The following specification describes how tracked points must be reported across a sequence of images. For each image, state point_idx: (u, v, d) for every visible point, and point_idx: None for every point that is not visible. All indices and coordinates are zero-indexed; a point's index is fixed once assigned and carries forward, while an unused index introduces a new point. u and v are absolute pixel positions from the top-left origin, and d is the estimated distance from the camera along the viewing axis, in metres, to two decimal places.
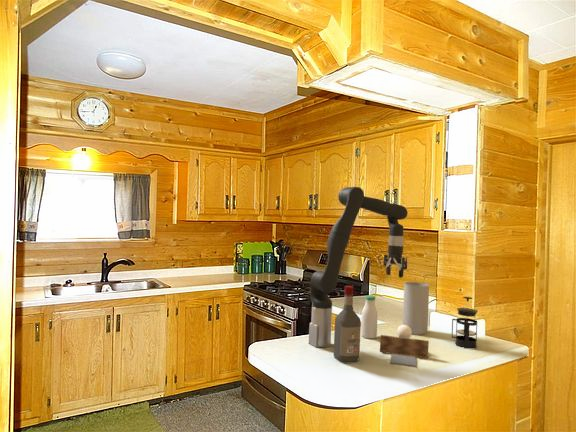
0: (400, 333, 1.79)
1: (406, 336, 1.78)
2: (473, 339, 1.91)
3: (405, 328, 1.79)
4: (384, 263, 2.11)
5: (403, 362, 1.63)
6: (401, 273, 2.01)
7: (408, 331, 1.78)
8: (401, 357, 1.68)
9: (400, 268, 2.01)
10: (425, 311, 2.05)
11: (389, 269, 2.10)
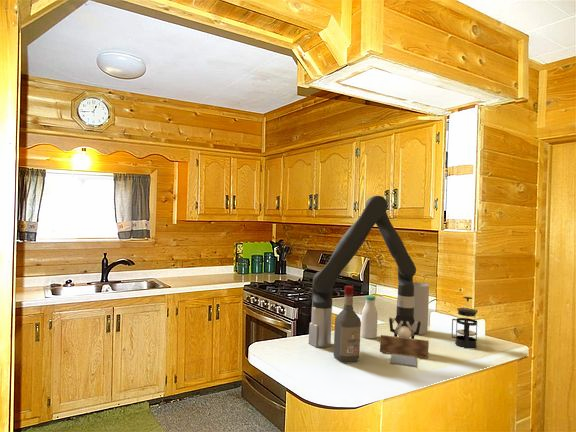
0: (400, 333, 1.79)
1: (406, 336, 1.78)
2: (473, 339, 1.91)
3: (405, 328, 1.79)
4: (391, 328, 1.81)
5: (403, 362, 1.63)
6: None
7: (408, 331, 1.78)
8: (401, 357, 1.68)
9: (413, 333, 1.79)
10: (425, 311, 2.05)
11: None
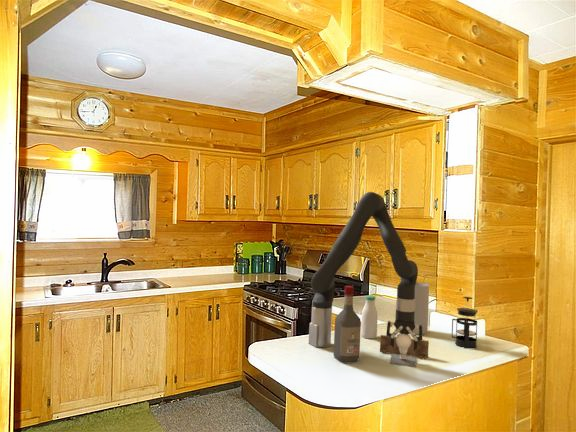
0: (399, 342, 1.64)
1: (405, 345, 1.63)
2: (473, 339, 1.91)
3: (404, 337, 1.64)
4: (388, 333, 1.66)
5: (403, 362, 1.63)
6: None
7: (408, 340, 1.63)
8: None
9: (416, 339, 1.63)
10: (425, 311, 2.05)
11: None
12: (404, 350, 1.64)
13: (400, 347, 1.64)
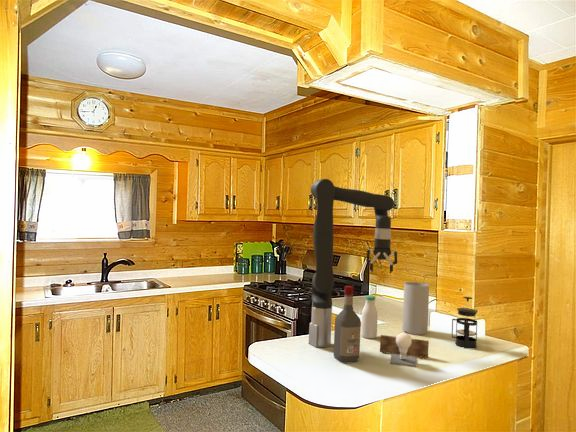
0: (399, 342, 1.64)
1: (406, 345, 1.63)
2: (473, 339, 1.91)
3: (404, 337, 1.63)
4: (368, 259, 1.91)
5: (403, 362, 1.63)
6: (392, 268, 1.89)
7: (408, 340, 1.63)
8: None
9: (392, 263, 1.88)
10: (425, 311, 2.05)
11: None
12: (404, 350, 1.64)
13: (400, 347, 1.64)
